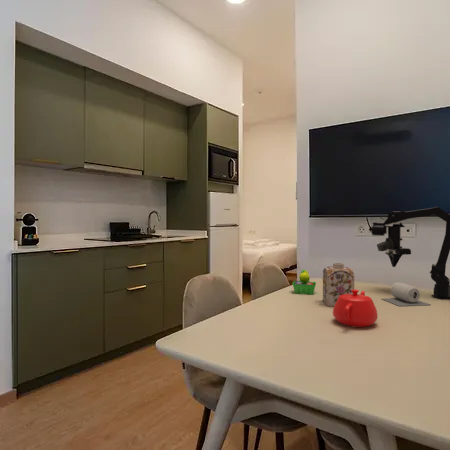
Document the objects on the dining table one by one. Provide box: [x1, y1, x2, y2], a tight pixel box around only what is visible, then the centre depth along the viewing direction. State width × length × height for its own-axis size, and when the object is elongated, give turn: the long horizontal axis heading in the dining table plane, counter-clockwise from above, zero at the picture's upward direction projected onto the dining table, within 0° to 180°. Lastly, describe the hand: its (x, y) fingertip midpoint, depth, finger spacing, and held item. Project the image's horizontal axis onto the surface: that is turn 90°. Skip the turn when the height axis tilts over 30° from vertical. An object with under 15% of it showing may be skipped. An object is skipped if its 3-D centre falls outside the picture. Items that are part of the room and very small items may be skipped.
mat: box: [381, 297, 432, 307], centre depth 160 cm, size 15×13×1 cm
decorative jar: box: [322, 262, 355, 307], centre depth 158 cm, size 12×12×18 cm
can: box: [390, 281, 421, 303], centre depth 162 cm, size 8×8×12 cm
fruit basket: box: [292, 269, 317, 295], centre depth 180 cm, size 11×9×11 cm
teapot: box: [332, 288, 378, 328], centre depth 131 cm, size 25×16×12 cm, turn 145°
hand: (393, 266), depth 180 cm, fingers closed
